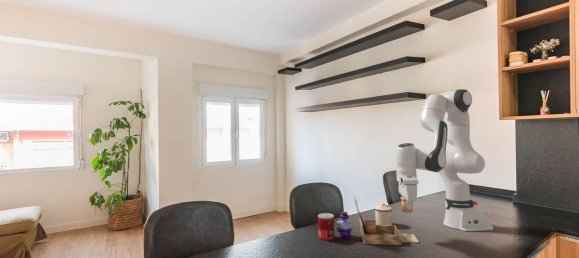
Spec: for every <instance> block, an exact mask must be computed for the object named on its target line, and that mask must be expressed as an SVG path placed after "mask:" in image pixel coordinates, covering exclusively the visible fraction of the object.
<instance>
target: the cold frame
mask: <svg viewBox="0 0 579 258" xmlns="http://www.w3.org/2000/svg"><path fill="white" fill-rule="evenodd" d="M352 196H353V198H354V203H355V207H356V211H357V214H358V215H357V216H358V219H359V222H360V223H359V224H360V226H359V227H360V234H361V239H362V243H363V245H364V244H365V245H387V246H388V245H390V246H391V245H392V246H393V245H394V246H403V242H402V235H401V234H402V233H401V232H400V230H399V229H398V227H397V226H396V224H395V225H393V224H392V225H376V235H369V234H365V223H364V220H363V217H362V215H361V212H360V209H359V206H358V202H357V199H356V195H355V193H352Z"/></svg>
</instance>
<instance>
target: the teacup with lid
mask: <svg viewBox="0 0 579 258" xmlns="http://www.w3.org/2000/svg"><path fill="white" fill-rule="evenodd" d="M374 212H375V213H374V215H375V220H376V225H393V213H392V212H393V208H392V207H391V206H388V205H387V204H386V203H385V202H381V204H379V205H377V206H375V207H374Z"/></svg>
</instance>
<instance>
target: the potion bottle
mask: <svg viewBox="0 0 579 258" xmlns="http://www.w3.org/2000/svg"><path fill="white" fill-rule="evenodd" d="M339 218H340V219H341V220H337V221H336V222H335V224H336V231H338V235H339V238H340V239H342V240H343V239H345V240H349V239H351V236H352V230H353V229H354V228H353V227H354V222H353V221H351V220H349V218H350V214H348V212H347V211H341V212H340V215H339Z"/></svg>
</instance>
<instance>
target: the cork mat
mask: <svg viewBox="0 0 579 258" xmlns="http://www.w3.org/2000/svg"><path fill="white" fill-rule="evenodd" d="M400 234H401V235H402V244H403V243H404V244H405V243H407V244H409V243H410V244H414V243H415V244H420V241H419V239H418V238H417V236H416V235H415V234H414V233H400Z"/></svg>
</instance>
